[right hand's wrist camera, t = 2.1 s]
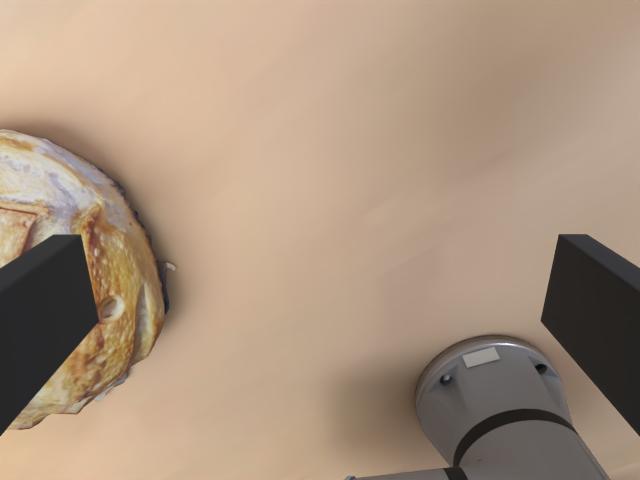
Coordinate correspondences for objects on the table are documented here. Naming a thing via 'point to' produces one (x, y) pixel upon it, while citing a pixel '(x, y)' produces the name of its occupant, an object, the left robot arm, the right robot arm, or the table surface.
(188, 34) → the table surface
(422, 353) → the table surface
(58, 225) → the bread
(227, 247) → the table surface
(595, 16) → the table surface
